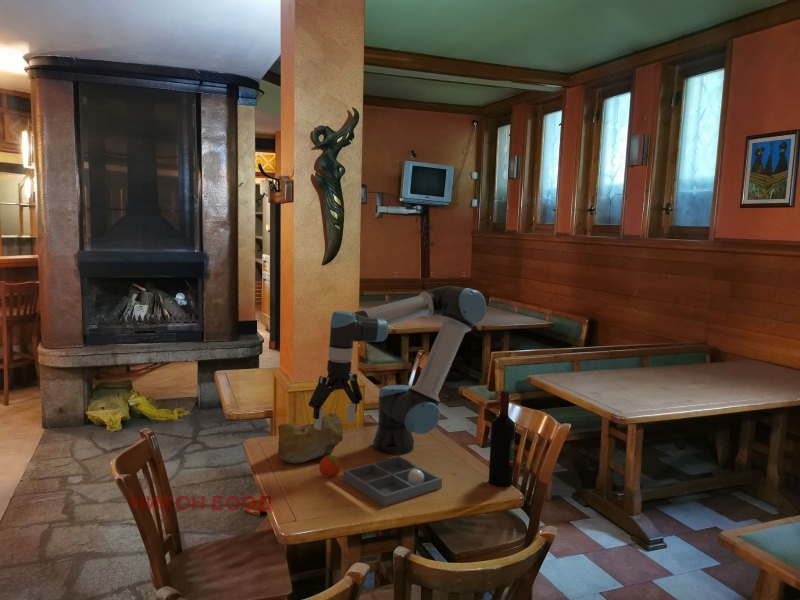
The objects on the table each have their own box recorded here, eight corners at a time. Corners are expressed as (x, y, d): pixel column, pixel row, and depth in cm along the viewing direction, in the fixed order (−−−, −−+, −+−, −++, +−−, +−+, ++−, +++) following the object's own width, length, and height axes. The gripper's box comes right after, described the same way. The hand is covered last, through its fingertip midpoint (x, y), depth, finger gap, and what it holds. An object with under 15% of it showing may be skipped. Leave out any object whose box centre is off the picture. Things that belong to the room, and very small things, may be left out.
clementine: (346, 478, 192) (347, 457, 191) (328, 484, 188) (329, 462, 187) (332, 470, 198) (332, 450, 197) (314, 475, 194) (315, 454, 193)
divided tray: (398, 467, 202) (398, 456, 202) (441, 490, 185) (442, 478, 185) (343, 482, 189) (343, 470, 188) (384, 509, 172) (384, 496, 171)
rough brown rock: (331, 445, 224) (329, 405, 223) (347, 457, 209) (345, 414, 208) (269, 455, 213) (267, 414, 213) (281, 469, 199) (279, 424, 198)
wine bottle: (487, 477, 196) (491, 388, 193) (510, 478, 196) (515, 389, 193) (490, 487, 189) (494, 394, 185) (514, 487, 189) (519, 395, 185)
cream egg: (416, 480, 190) (417, 465, 189) (427, 486, 185) (428, 470, 185) (403, 484, 186) (404, 468, 186) (414, 490, 182) (414, 474, 182)
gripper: (361, 355, 201) (356, 417, 202) (300, 360, 183) (295, 428, 185) (376, 359, 196) (371, 423, 197) (315, 365, 178) (309, 434, 179)
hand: (334, 425), depth 191 cm, fingers open, 13 cm apart
